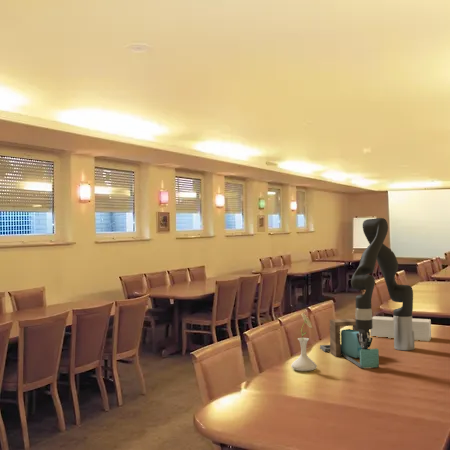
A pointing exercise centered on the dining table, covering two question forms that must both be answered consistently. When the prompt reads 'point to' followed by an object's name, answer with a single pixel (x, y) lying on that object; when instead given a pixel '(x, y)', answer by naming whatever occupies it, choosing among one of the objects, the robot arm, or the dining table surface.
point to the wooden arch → (338, 334)
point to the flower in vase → (304, 352)
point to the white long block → (386, 328)
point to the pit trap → (325, 348)
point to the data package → (350, 343)
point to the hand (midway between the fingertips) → (364, 355)
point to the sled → (366, 358)
